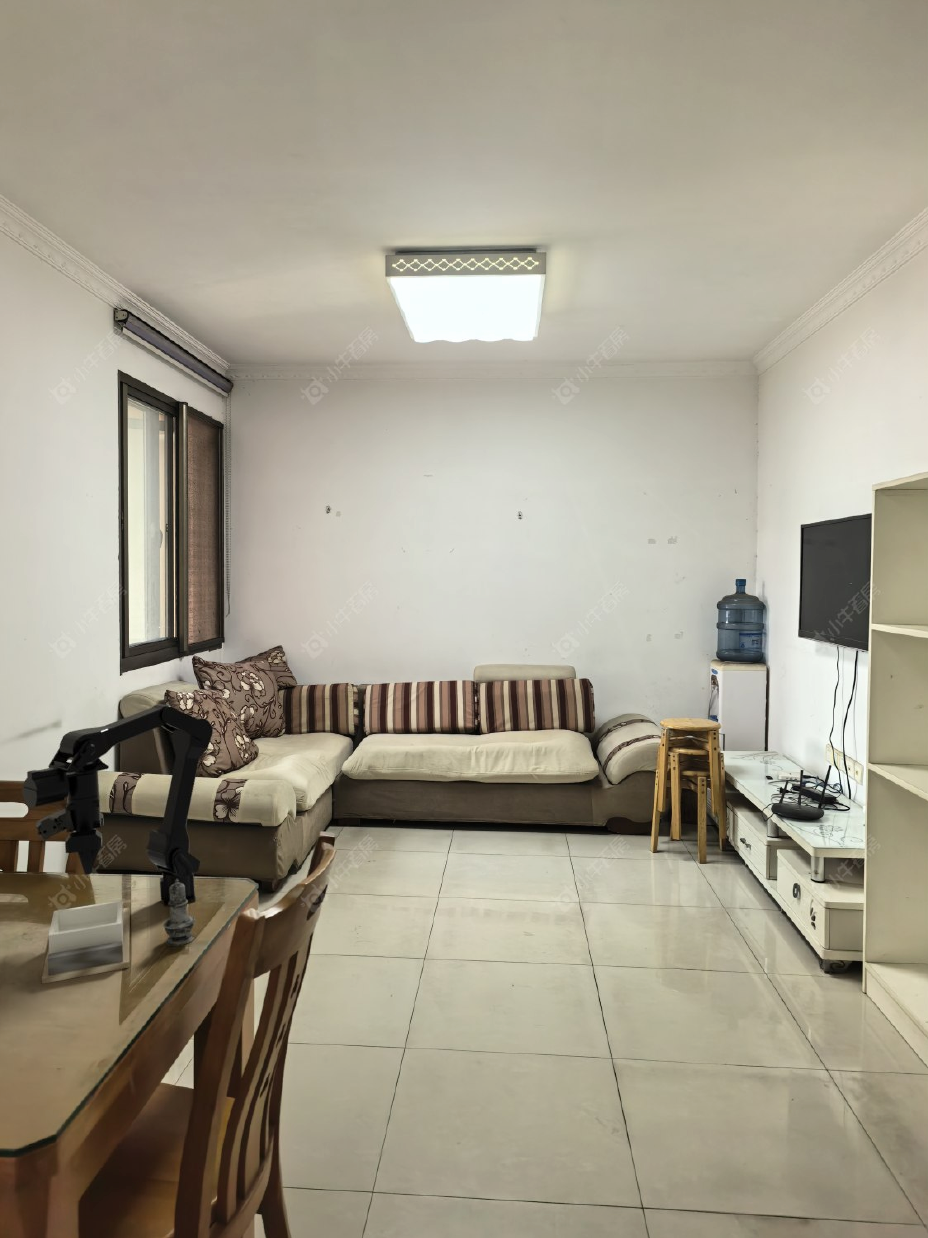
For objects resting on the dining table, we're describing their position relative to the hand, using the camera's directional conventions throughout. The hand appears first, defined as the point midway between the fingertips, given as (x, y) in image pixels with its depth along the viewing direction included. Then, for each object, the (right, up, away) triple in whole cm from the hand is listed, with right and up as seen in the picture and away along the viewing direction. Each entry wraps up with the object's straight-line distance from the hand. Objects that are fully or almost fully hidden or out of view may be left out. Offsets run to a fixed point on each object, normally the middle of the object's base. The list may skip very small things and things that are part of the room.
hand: (87, 873), depth 165 cm
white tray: (+4, -11, -9) cm, 14 cm away
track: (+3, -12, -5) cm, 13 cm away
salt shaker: (+20, -12, -5) cm, 23 cm away
